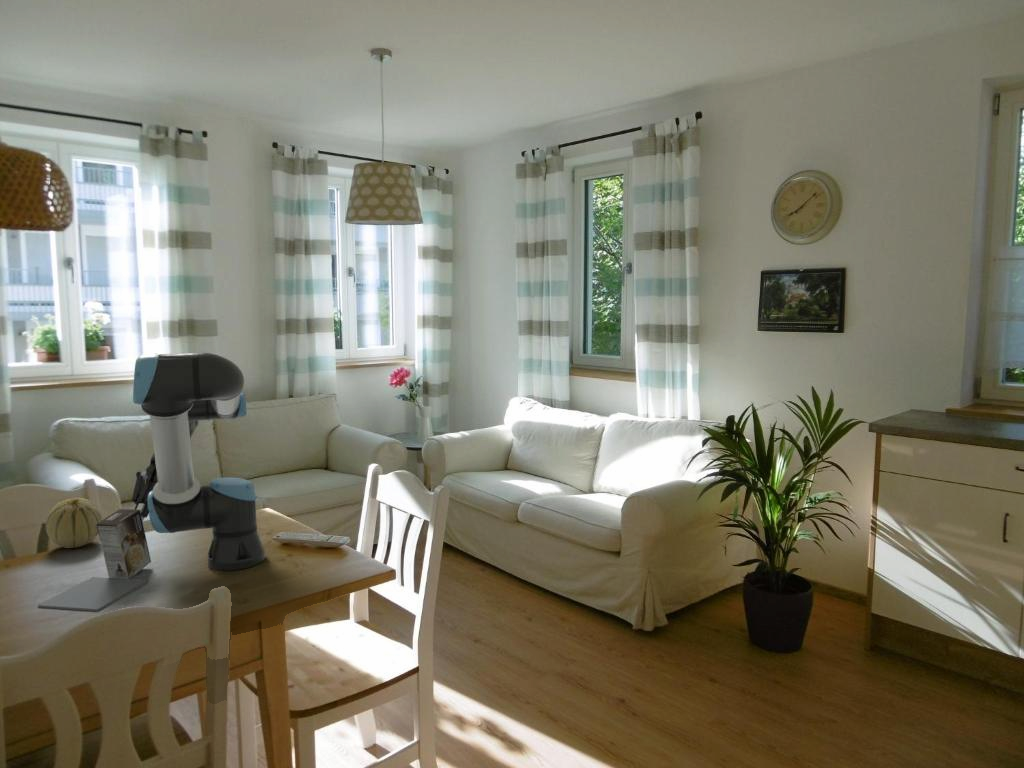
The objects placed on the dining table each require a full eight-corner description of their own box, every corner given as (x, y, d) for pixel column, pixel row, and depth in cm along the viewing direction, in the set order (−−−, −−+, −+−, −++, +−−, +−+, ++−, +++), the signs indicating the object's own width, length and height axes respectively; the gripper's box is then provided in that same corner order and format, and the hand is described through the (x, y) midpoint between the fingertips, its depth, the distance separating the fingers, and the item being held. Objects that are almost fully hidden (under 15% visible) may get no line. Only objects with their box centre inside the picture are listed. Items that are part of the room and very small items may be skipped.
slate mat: (147, 582, 190) (147, 580, 190) (97, 611, 172) (97, 609, 172) (92, 578, 192) (92, 577, 192) (38, 607, 175) (37, 605, 175)
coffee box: (131, 561, 201) (120, 507, 197) (152, 562, 200) (141, 508, 196) (107, 578, 193) (95, 523, 188) (129, 580, 192) (117, 524, 187)
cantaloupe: (80, 536, 228) (77, 489, 226) (115, 541, 223) (111, 493, 221) (35, 551, 214) (30, 501, 212) (70, 557, 209) (66, 506, 207)
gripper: (195, 461, 215) (162, 534, 201) (155, 460, 217) (120, 532, 203) (182, 447, 209) (148, 521, 195) (142, 446, 211) (105, 519, 197)
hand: (134, 527), depth 199 cm, fingers closed
